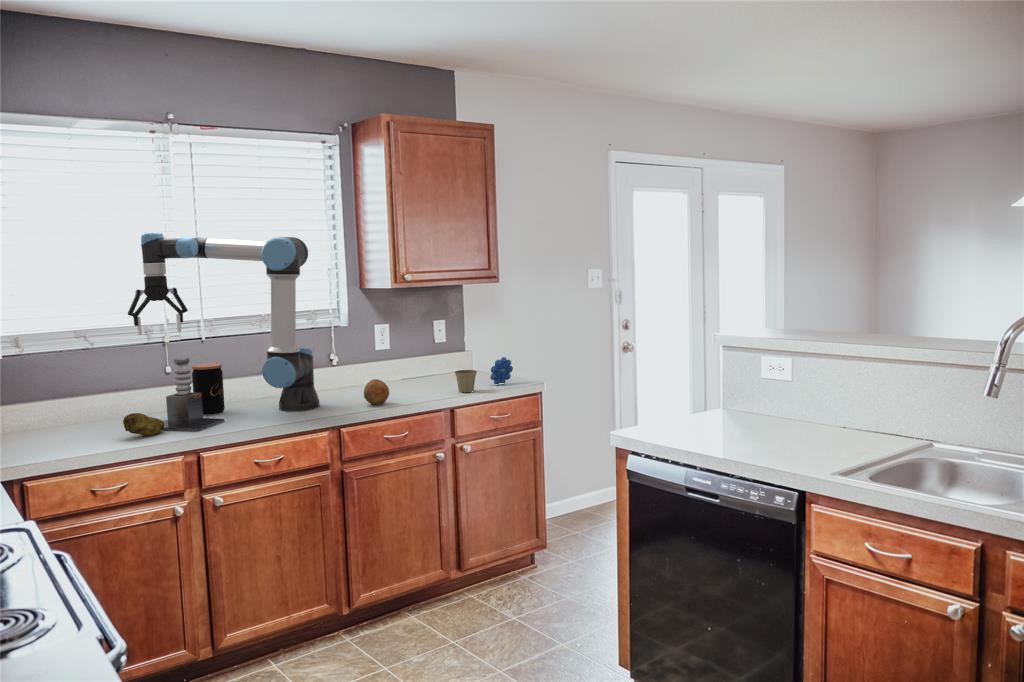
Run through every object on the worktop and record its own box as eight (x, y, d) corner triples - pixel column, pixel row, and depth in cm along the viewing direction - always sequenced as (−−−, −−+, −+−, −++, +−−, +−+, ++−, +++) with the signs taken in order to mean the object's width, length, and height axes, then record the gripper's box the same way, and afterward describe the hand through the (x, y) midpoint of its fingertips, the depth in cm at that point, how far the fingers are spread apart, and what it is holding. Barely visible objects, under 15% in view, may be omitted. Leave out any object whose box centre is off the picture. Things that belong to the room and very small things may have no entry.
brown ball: (395, 403, 314) (394, 378, 313) (377, 408, 306) (376, 382, 304) (376, 401, 319) (375, 376, 318) (358, 405, 311) (357, 380, 310)
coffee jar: (214, 415, 298) (211, 367, 295) (188, 415, 300) (185, 367, 298) (230, 409, 308) (227, 363, 306) (205, 409, 310) (202, 362, 308)
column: (196, 420, 283) (192, 357, 281) (187, 423, 278) (183, 359, 276) (183, 420, 284) (179, 357, 282) (174, 423, 279) (170, 359, 277)
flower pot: (475, 394, 331) (474, 373, 330) (452, 393, 333) (452, 373, 332) (479, 390, 340) (479, 369, 339) (457, 389, 342) (457, 369, 341)
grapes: (507, 381, 360) (506, 355, 359) (516, 383, 354) (515, 356, 353) (485, 384, 353) (484, 357, 352) (494, 386, 348) (493, 359, 346)
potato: (168, 434, 268) (167, 411, 267) (126, 440, 260) (124, 416, 259) (163, 430, 274) (161, 407, 273) (121, 436, 267) (119, 412, 266)
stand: (224, 421, 287) (222, 390, 286) (197, 431, 271) (195, 398, 270) (174, 419, 291) (172, 389, 290) (145, 429, 276) (143, 397, 275)
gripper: (188, 273, 306) (192, 329, 308) (115, 276, 291) (121, 335, 294) (193, 273, 300) (197, 330, 302) (119, 277, 285) (124, 336, 288)
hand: (159, 333), depth 298 cm, fingers open, 13 cm apart
